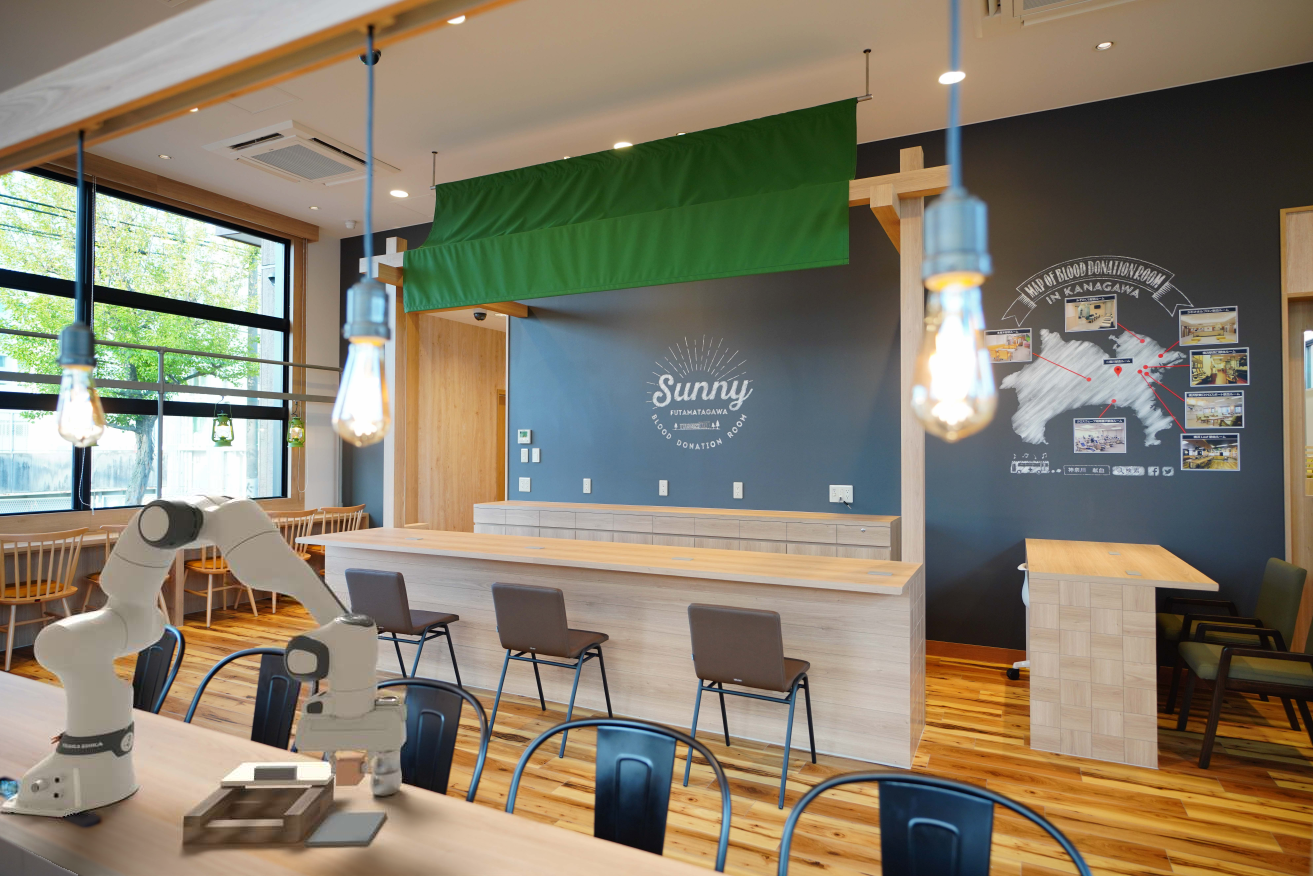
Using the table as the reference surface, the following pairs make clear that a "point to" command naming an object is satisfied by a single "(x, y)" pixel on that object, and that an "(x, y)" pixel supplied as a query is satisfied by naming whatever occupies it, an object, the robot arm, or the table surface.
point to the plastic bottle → (386, 769)
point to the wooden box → (256, 814)
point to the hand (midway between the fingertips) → (350, 772)
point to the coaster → (347, 829)
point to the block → (349, 769)
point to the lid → (279, 774)
